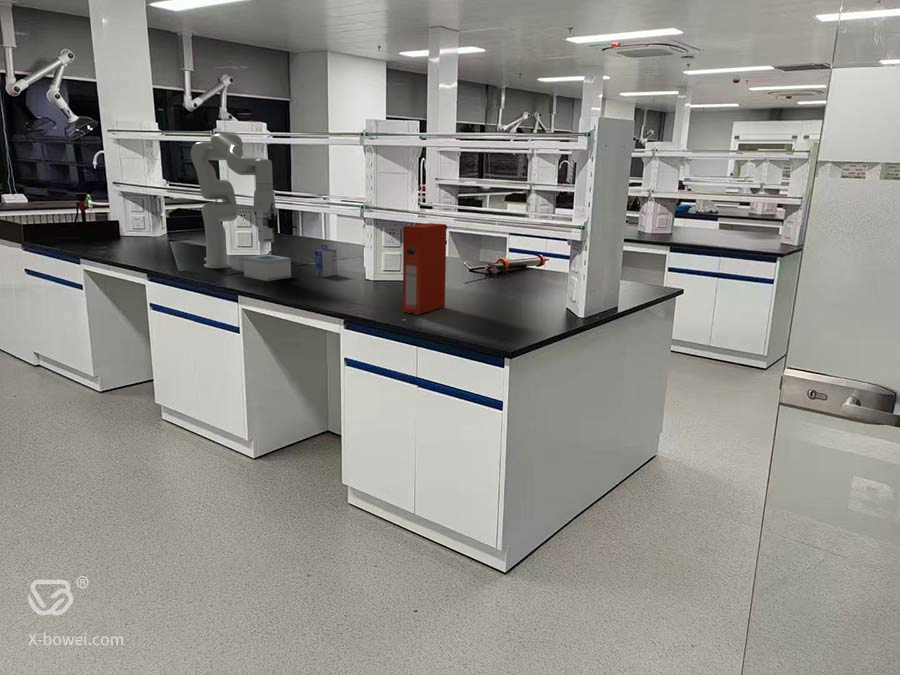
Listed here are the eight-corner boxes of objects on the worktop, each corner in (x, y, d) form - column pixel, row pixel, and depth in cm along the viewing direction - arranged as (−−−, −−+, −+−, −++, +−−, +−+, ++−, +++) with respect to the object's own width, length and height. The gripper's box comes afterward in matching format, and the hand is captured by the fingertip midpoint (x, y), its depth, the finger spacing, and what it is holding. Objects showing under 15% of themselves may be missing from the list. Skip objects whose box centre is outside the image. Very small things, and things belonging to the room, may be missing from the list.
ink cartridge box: (329, 273, 331) (329, 243, 327) (338, 274, 328) (337, 244, 324) (314, 276, 323) (314, 245, 320) (323, 277, 320) (322, 246, 317)
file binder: (402, 312, 254) (403, 226, 246) (427, 304, 269) (429, 222, 260) (420, 315, 250) (422, 227, 242) (444, 307, 265) (447, 224, 256)
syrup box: (262, 243, 309) (261, 210, 305) (257, 241, 314) (256, 209, 310) (274, 242, 312) (273, 210, 308) (269, 240, 317) (268, 209, 313)
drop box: (244, 276, 316) (243, 257, 314) (268, 273, 327) (267, 254, 325) (267, 281, 307) (266, 261, 305) (291, 277, 318) (290, 258, 316)
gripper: (244, 186, 308) (246, 226, 313) (270, 188, 299) (272, 229, 303) (258, 186, 314) (259, 225, 319) (283, 188, 305) (285, 228, 309)
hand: (265, 226), depth 311 cm, fingers closed on syrup box, 7 cm apart
